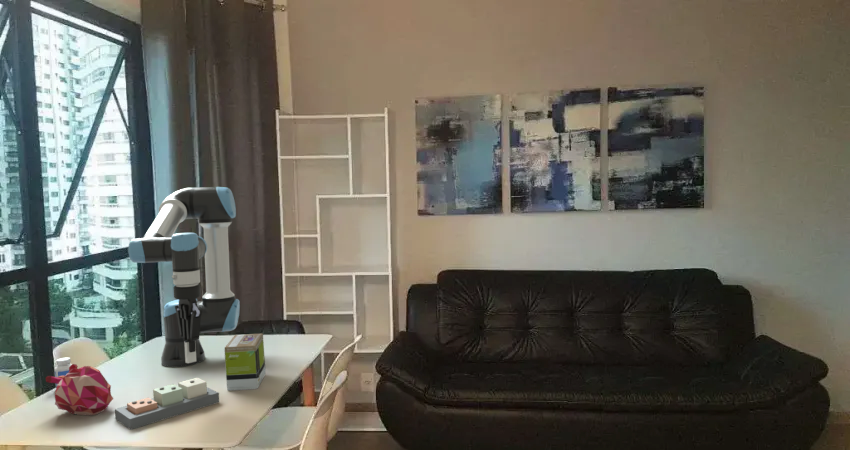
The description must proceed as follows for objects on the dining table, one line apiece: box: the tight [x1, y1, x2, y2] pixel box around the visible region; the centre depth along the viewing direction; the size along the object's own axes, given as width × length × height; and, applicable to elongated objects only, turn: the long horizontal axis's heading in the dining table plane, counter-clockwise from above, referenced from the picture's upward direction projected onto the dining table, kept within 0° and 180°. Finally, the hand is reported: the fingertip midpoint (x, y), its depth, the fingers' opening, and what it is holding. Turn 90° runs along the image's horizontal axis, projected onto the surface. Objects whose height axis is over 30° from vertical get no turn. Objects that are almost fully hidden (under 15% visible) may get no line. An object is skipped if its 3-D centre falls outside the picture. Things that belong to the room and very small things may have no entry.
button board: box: [114, 386, 220, 430], centre depth 178 cm, size 11×26×3 cm, turn 137°
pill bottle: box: [54, 356, 72, 388], centre depth 199 cm, size 6×5×10 cm
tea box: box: [224, 333, 267, 392], centre depth 201 cm, size 15×10×15 cm, turn 5°
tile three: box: [126, 397, 157, 415], centre depth 172 cm, size 6×6×4 cm
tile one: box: [177, 377, 208, 399], centre depth 183 cm, size 6×6×4 cm
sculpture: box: [45, 363, 114, 416], centre depth 179 cm, size 14×12×20 cm
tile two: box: [152, 383, 183, 407], centre depth 178 cm, size 6×6×4 cm
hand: (190, 361), depth 182 cm, fingers closed
